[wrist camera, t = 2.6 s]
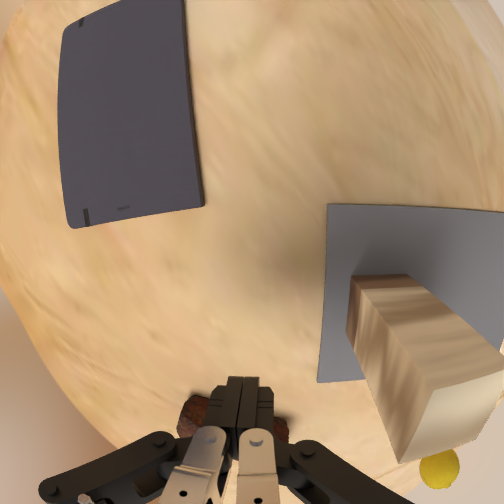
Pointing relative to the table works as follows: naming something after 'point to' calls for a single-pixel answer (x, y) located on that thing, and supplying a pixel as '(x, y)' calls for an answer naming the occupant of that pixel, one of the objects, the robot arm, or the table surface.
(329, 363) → the rubber mat
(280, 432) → the brick
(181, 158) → the notebook
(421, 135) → the table surface
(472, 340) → the tall block
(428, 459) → the lemon
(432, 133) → the table surface
